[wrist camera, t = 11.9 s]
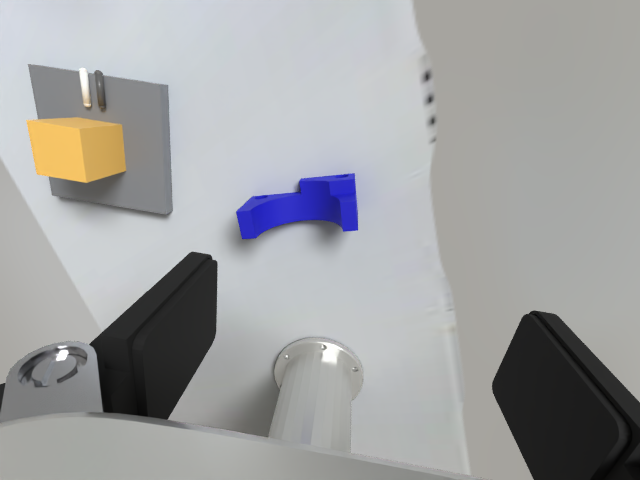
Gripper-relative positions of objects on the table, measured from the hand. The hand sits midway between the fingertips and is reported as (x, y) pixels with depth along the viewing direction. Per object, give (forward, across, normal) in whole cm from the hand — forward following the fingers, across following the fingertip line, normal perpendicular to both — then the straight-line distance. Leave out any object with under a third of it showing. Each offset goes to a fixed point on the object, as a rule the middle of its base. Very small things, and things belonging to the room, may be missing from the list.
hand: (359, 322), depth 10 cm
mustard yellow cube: (+27, +28, +2) cm, 39 cm away
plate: (+28, +28, +2) cm, 40 cm away
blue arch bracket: (+29, +5, +5) cm, 30 cm away
